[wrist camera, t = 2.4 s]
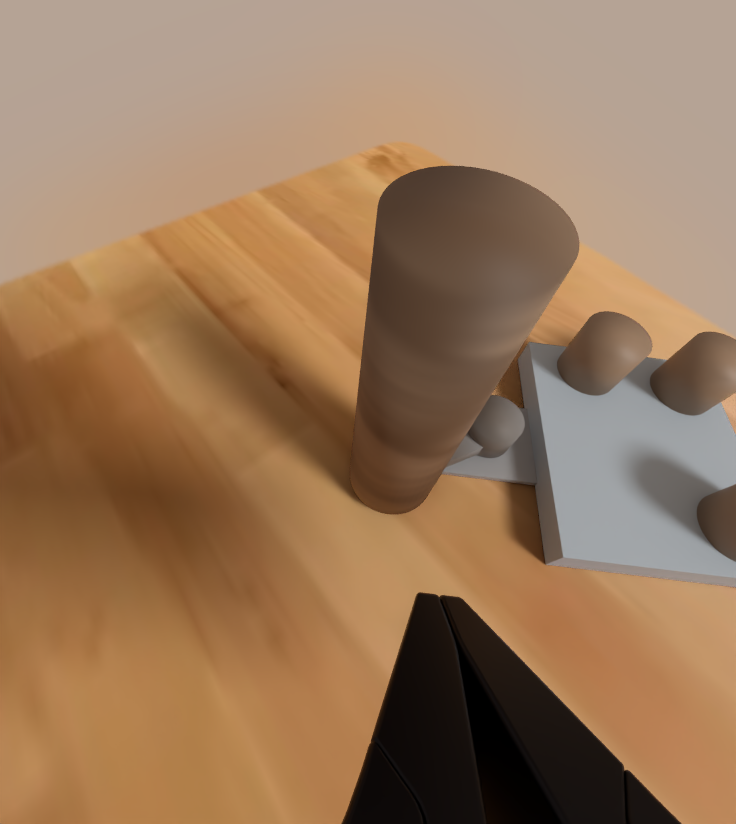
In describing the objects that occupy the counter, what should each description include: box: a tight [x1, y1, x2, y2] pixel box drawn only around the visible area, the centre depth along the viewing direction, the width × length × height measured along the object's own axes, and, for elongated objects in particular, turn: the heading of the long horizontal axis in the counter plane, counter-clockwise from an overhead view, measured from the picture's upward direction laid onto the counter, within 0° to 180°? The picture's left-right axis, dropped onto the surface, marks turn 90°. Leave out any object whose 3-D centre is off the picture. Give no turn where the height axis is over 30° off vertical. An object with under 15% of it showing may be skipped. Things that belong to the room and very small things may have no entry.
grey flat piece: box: [442, 312, 736, 587], centre depth 20 cm, size 15×17×5 cm
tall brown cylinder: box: [350, 166, 579, 514], centre depth 14 cm, size 9×4×13 cm, turn 114°
